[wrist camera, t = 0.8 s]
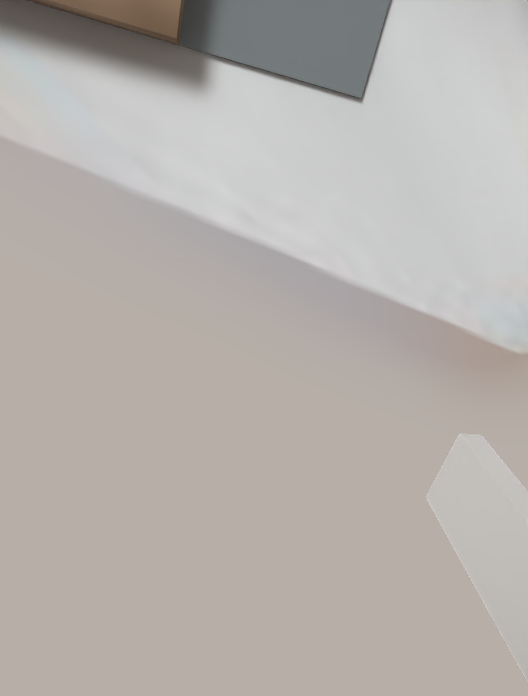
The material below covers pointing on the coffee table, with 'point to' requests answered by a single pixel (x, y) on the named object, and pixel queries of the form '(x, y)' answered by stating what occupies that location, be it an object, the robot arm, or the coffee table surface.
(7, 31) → the coffee table surface
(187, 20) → the mat
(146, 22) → the brown flat block
